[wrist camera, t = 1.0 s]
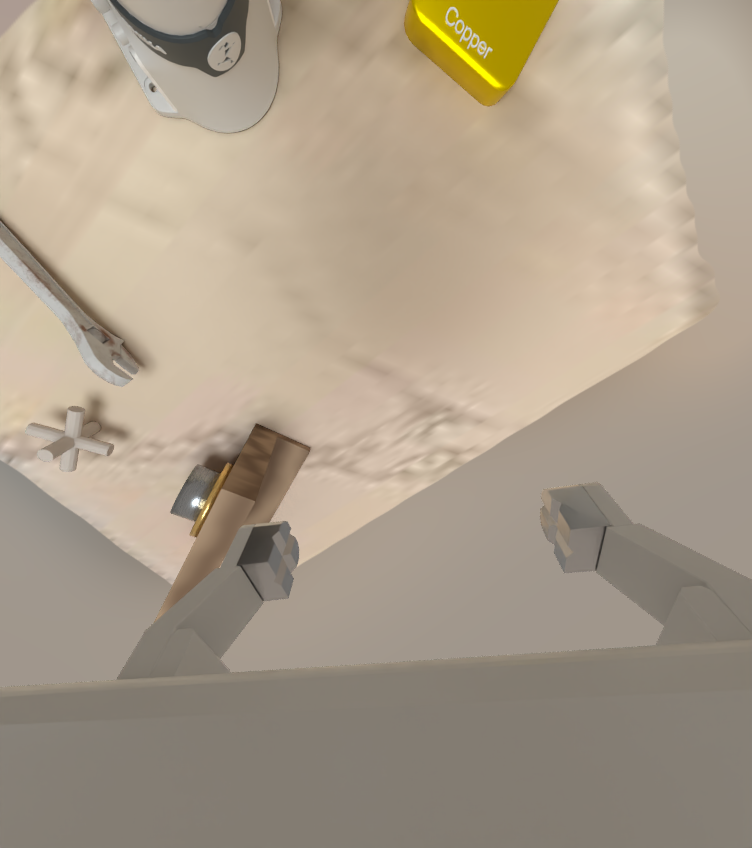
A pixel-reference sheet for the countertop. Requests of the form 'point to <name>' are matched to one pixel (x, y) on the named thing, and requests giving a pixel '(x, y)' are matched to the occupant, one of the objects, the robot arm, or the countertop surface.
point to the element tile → (478, 39)
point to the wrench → (70, 314)
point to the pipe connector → (69, 439)
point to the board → (240, 504)
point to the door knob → (200, 495)
